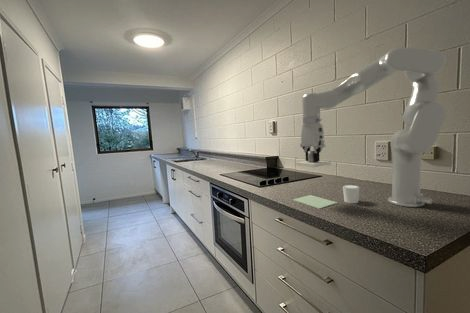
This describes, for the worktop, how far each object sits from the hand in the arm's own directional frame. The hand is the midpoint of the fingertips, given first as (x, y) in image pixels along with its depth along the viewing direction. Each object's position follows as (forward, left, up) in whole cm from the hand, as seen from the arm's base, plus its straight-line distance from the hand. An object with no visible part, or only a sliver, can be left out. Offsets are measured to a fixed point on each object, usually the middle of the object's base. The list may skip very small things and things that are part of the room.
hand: (312, 160), depth 103 cm
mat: (0, 0, -20) cm, 20 cm away
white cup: (-10, -13, -20) cm, 26 cm away
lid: (0, 0, -2) cm, 2 cm away
